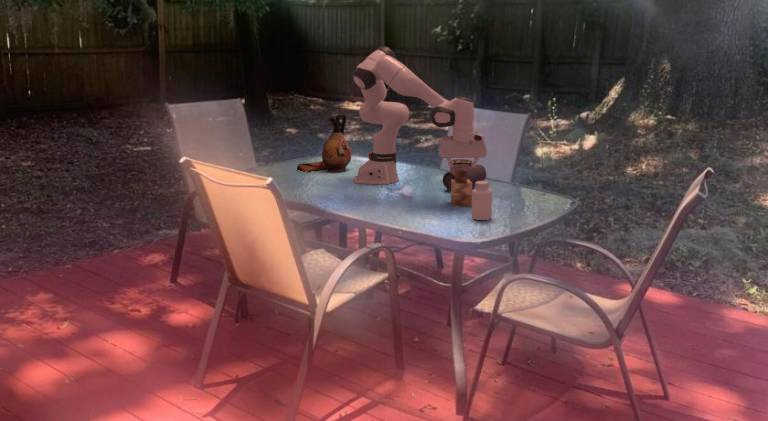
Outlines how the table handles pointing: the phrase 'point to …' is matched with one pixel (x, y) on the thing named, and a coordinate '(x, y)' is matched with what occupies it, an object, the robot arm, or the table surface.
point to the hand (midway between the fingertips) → (462, 167)
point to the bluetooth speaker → (472, 175)
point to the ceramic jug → (336, 146)
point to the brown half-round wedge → (460, 163)
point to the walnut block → (461, 176)
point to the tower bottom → (461, 200)
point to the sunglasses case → (312, 166)
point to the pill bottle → (481, 201)
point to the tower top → (461, 188)
